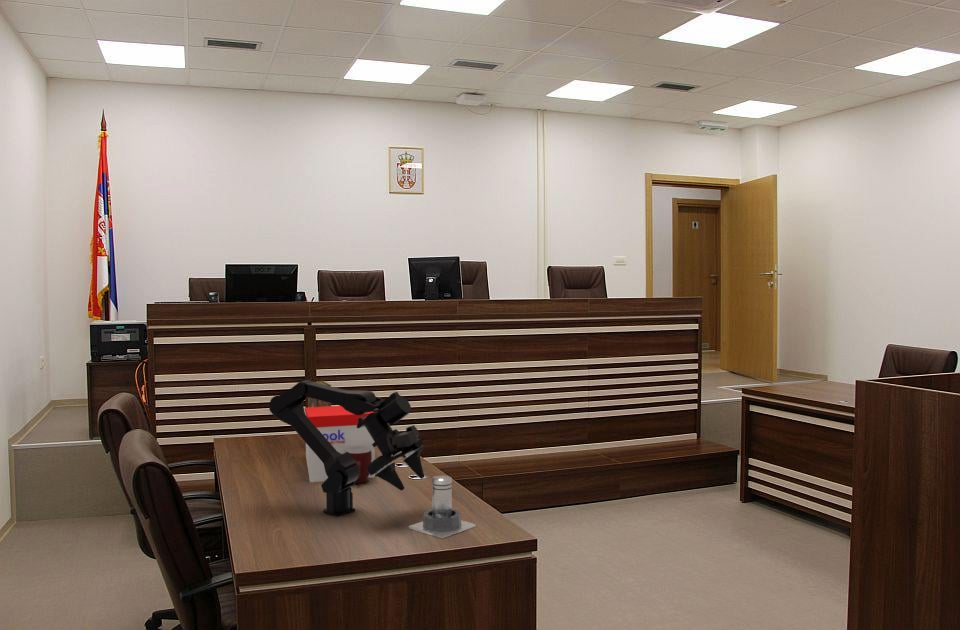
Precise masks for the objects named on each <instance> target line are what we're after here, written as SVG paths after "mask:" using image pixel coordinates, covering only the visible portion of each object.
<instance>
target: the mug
mask: <svg viewBox="0 0 960 630" xmlns="http://www.w3.org/2000/svg"><path fill="white" fill-rule="evenodd" d="M346 452H349V453H350V455H351V456H352V458H353V459H354V460H356V461H357V462H358V463H356V464H357V465H358V466H359V469H360V470H359V477H358V479H357V480H356V481H355V484H354V485H356V484H357V485H359V484H360V485H361V484H365V483H366V481H367V479H369V478H368V476H369V472H368V470H367V465H368V464H370V463H371V459H372V452H371V449H369V448H353V449H348V450H346Z"/></svg>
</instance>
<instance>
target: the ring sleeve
mask: <svg viewBox="0 0 960 630" xmlns="http://www.w3.org/2000/svg"><path fill="white" fill-rule="evenodd" d="M475 527H476V523H473V522H468V521H465V520H463V519H462V512H461V511H460V509H455V508H452V516H451V517H446V518H435V517H432V508H431V509H427V510H425V511H424V512H423V513H422V521H420V522H417V523H414V524H411V525H408V529H410V530H413V531H416V532H419V533H422V534H426V535H429V536H432V537H435V538H437V539H445V538H448V537H452V536H453V535H456V534H459V533H461V532H464V531H468V530H470V529H473V528H475Z"/></svg>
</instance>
